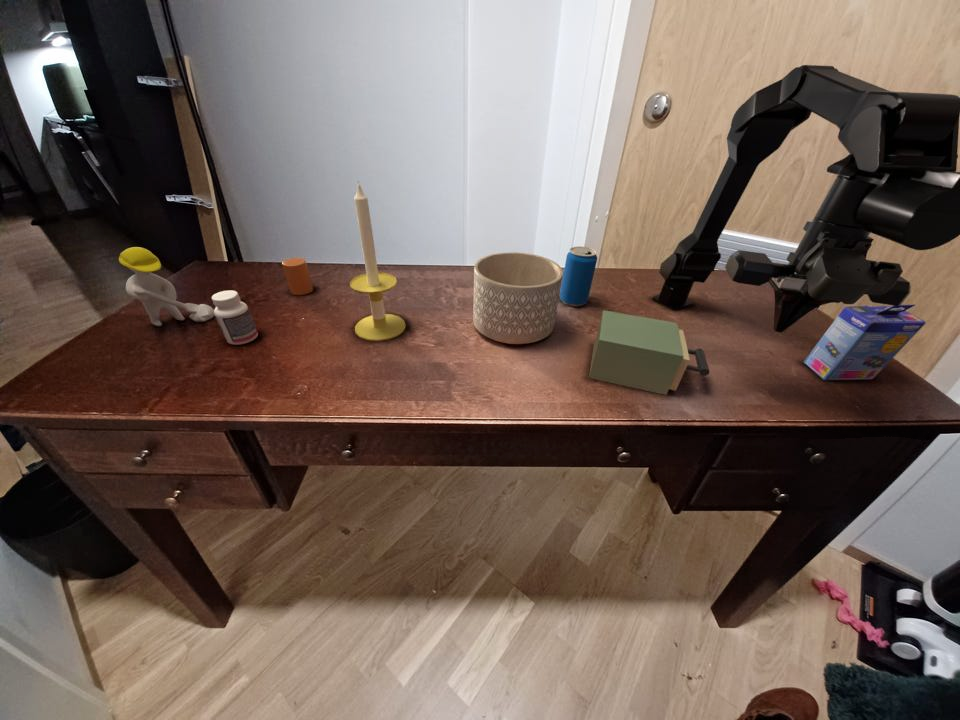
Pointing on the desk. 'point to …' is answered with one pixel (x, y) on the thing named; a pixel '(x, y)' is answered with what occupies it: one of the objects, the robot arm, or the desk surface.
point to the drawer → (684, 365)
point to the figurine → (156, 288)
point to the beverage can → (578, 276)
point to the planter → (516, 296)
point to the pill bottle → (234, 318)
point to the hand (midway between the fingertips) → (777, 330)
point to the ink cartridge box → (862, 341)
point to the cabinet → (636, 352)
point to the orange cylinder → (297, 276)
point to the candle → (373, 282)
